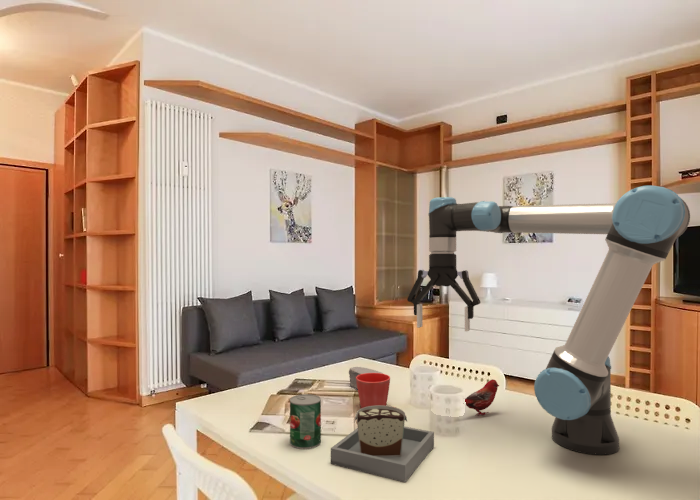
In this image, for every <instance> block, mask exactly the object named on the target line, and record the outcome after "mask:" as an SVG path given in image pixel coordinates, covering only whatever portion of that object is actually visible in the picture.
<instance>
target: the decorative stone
mask: <svg viewBox="0 0 700 500" xmlns="http://www.w3.org/2000/svg"><path fill="white" fill-rule="evenodd" d="M364 373H382V374H384V372H381V371H378V370H375V369H371V368H368V367H362V366H353V367H350V368H349V370H348V375H349V383H350V386H351V387H352V388H353V387H354V388H353V389H355V388H356V389H355V390H357V382H356V377H357V376H358V375H360V374H364Z"/></svg>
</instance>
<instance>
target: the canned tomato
mask: <svg viewBox="0 0 700 500" xmlns="http://www.w3.org/2000/svg"><path fill="white" fill-rule="evenodd" d="M321 400H322V398H321V397H320V396H319V395H316V394H310V393H309V394H307V393H304V394H297V395H294V396H292V397H290V398H289V445H290V446H291V447H292V448H295V449H297V450H310V449H311V450H312V449H315V448H317V447H319V446H321V444H322V427H321V426H322V415H321V414H322V407H321V406H322V404H321V403H322V401H321Z"/></svg>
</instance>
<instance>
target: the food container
mask: <svg viewBox="0 0 700 500" xmlns="http://www.w3.org/2000/svg"><path fill="white" fill-rule="evenodd" d="M405 422H406V423H408V419H407V415H406V412H405V411H404V410H403V409H402V408H401V409H400V408H398V407H395V406H391V405H386V406H383V405H375V406H368V407H364V408H361V407H360V408H359V409H358V410H357V412H356V414H355V415H354V421H353V423H356V424H357V425H356V426H357V428H358V436H359V445H360V453H363V454H368V455H372V456H376V457H401V452H402V442H403V432H404V426H405Z"/></svg>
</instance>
